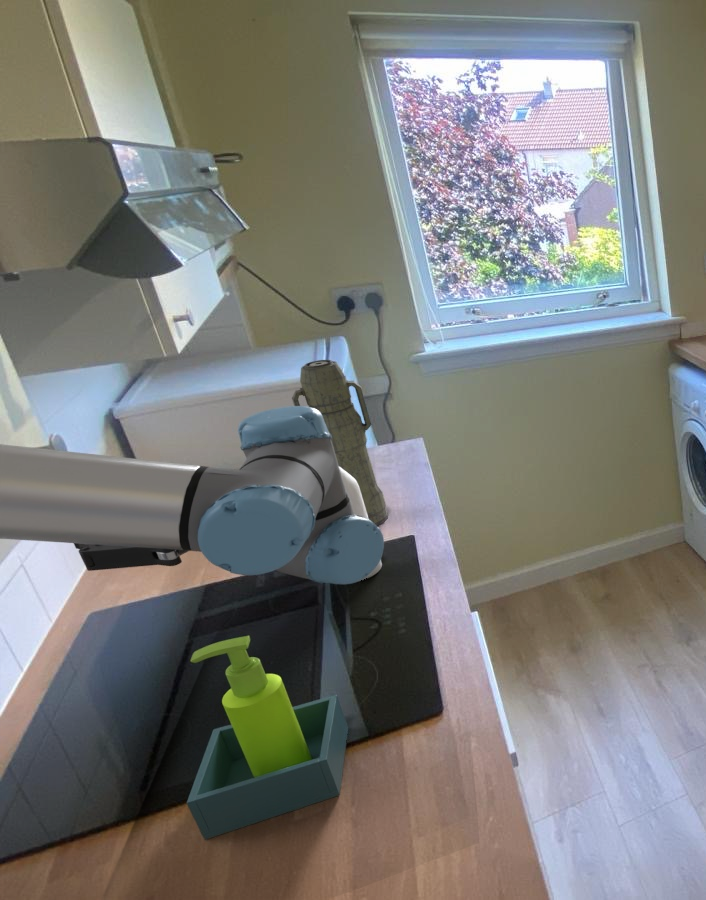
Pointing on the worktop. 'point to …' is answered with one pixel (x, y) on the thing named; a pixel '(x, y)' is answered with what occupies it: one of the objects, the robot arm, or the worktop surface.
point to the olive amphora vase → (344, 427)
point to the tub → (269, 774)
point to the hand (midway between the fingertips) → (139, 510)
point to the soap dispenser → (258, 710)
